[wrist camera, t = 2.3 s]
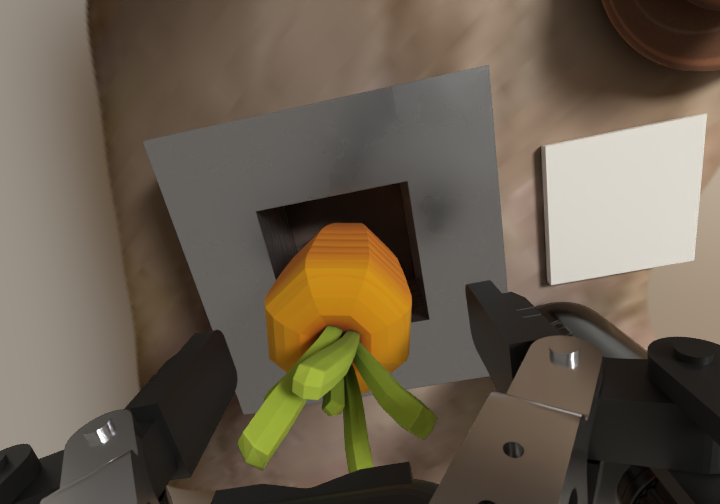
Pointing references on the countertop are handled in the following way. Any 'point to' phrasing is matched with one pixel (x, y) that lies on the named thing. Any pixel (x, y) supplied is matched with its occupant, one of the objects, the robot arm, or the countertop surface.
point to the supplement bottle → (618, 481)
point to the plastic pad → (622, 199)
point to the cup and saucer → (670, 31)
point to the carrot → (337, 342)
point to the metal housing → (334, 177)
